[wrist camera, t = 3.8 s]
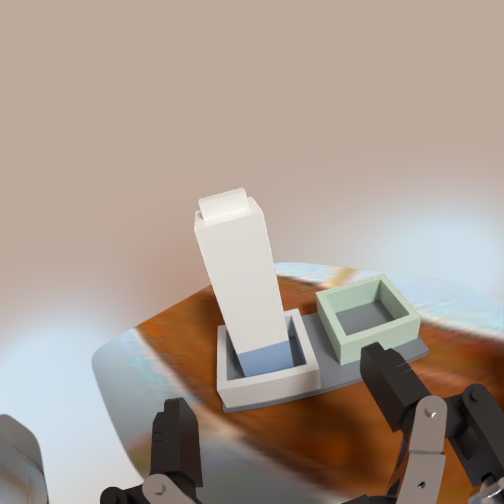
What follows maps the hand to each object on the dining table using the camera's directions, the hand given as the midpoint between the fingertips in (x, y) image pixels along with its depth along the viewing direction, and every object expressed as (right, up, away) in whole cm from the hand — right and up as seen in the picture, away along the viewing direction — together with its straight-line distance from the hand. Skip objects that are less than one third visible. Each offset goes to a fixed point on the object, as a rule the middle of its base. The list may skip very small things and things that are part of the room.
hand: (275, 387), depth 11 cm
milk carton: (0, -3, +10) cm, 11 cm away
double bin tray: (+5, -3, +11) cm, 12 cm away
